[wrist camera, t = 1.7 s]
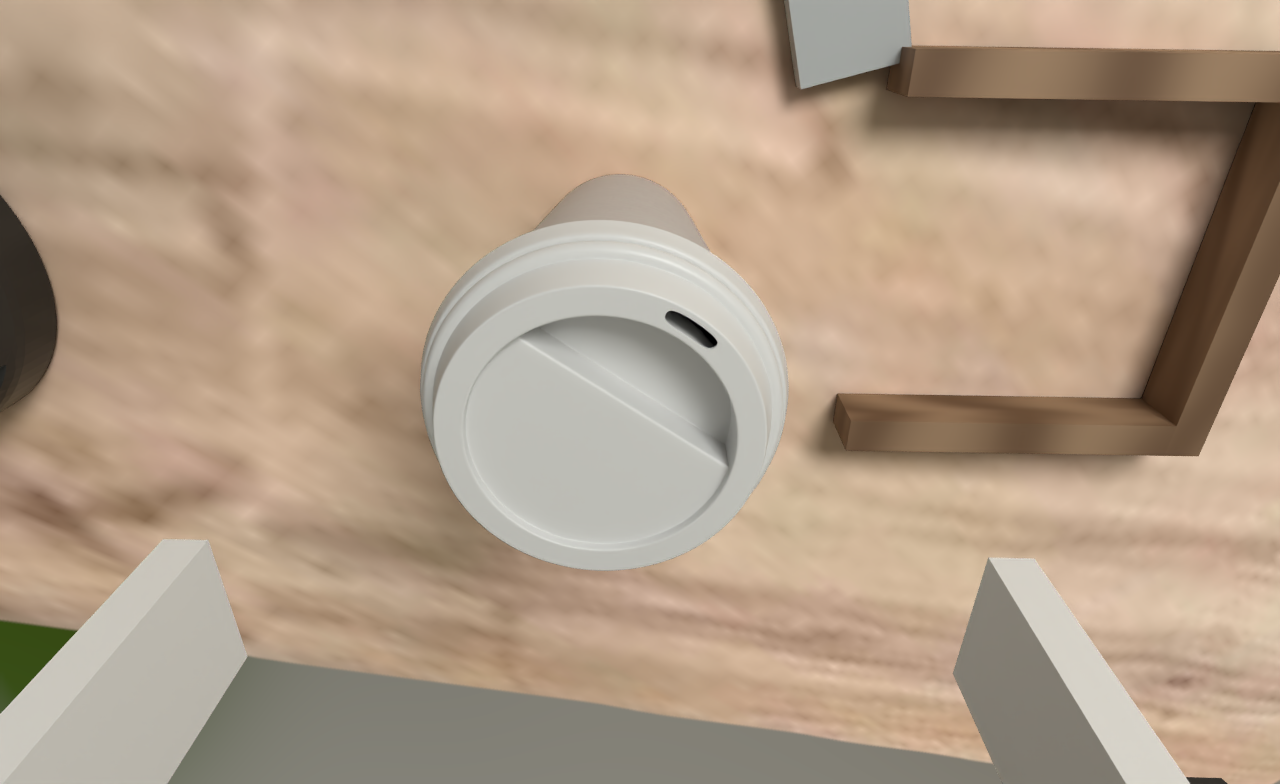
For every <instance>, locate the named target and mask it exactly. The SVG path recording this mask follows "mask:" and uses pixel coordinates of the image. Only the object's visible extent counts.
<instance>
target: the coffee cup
mask: <svg viewBox="0 0 1280 784" xmlns="http://www.w3.org/2000/svg"><path fill="white" fill-rule="evenodd" d="M420 393H421V405H422V412H423V417H424V422H425V426H426V429H427V433H428V436H429V439H430V442H431V445H432V448H433V450H434V453H435V455H436V457H437V459H438V461H439V463H440V466H441V469H442V471H443V474H444V476H445V478H446V480H447V482H448V484H449V486H450V488H451V489H452V491H453V492H454V494H455V496H456V497H457V499H458V500H459V501H460V503H461V504H462V505H463V506H464V508H465V509H466V510H467V511H468V512H469V513H470V515H471V516H472V517H473V518H474V519H475V520H476V521H477V522H478V523H480V524H481V525H482V526H483V527H484V528H485V529H487V530H488V531H489V532H490V533H492V534H493V535H494V536H496V537H497V538H499V539H500V540H502V541H503V542H505V543H506V544H508V545H510V546H511V547H513V548H515V549H517V550H519V551H521V552H523V553H525V554H528V555H530V556H532V557H535V558H537V559H540V560H543V561H546V562H549V563H553V564H557V565H561V566H565V567H570V568H576V569H584V570H597V571H613V570H626V569H634V568H640V567H645V566H650V565H654V564H657V563H661V562H664V561H667V560H670V559H672V558H675V557H677V556H680V555H682V554H684V553H686V552H688V551H690V550H692V549H694V548H696V547H697V546H699V545H701V544H702V543H704V542H705V541H707V540H708V539H710V538H711V537H712V536H714V535H715V534H716V533H718V532H719V531H720V530H721V529H722V528H723V527H724V526H726V525H727V524H728V523H729V522H730V521H731V519H732V518H733V517H734V516H735V515H736V514H737V513H738V512H739V510H740V509H741V508H742V506H743V505H744V503H745V502H746V500H747V499H748V497H749V496H750V494H751V493H752V492H753V490H754V489H755V488H756V486H757V485H758V484H759V482H760V480H761V479H762V477H763V476H764V474H765V472H766V470H767V468H768V466H769V465H770V463H771V461H772V459H773V457H774V454H775V452H776V450H777V447H778V444H779V441H780V438H781V435H782V431H783V427H784V422H785V416H786V411H787V403H788V371H787V364H786V358H785V353H784V350H783V346H782V343H781V339H780V337H779V334H778V331H777V329H776V327H775V324H774V322H773V320H772V318H771V317H770V315H769V313H768V311H767V309H766V308H765V306H764V305H763V303H762V302H761V300H760V299H759V297H758V296H757V295H756V293H755V292H754V291H753V290H752V288H751V287H750V286H749V285H748V284H747V283H746V282H745V280H744V279H743V278H742V277H741V276H740V275H739V274H738V273H736V272H735V271H734V270H733V269H732V268H731V267H730V266H729V265H727V264H726V263H725V262H724V261H722V260H721V259H720V258H718V257H717V256H715V255H714V254H712V253H711V252H710V250H709V248H708V247H707V245H706V243H705V241H704V240H703V238H702V236H701V234H700V233H699V231H698V229H697V228H696V226H695V224H694V222H693V221H692V219H691V217H690V215H689V214H688V212H687V210H686V209H685V208H684V206H683V205H682V204H681V202H680V201H679V200H678V199H677V198H676V197H675V196H674V195H673V194H672V193H670V192H669V191H668V190H667V189H665V188H664V187H662V186H660V185H659V184H657V183H655V182H653V181H651V180H648V179H645V178H642V177H638V176H633V175H625V174H615V175H606V176H601V177H598V178H595V179H592V180H589V181H587V182H585V183H583V184H581V185H580V186H578V187H576V188H575V189H574V190H572V191H571V192H570V193H569V194H567V195H566V196H565V197H564V198H563V199H562V200H561V201H560V202H559V204H558V205H557V206H556V207H555V208H554V209H553V210H552V211H551V212H550V213H549V214H548V215H547V216H546V217H545V219H544V220H543V221H542V222H541V223H540V224H539V225H538V226H537V227H536V228H535V229H534V230H533V231H532V232H529V233H526V234H524V235H521V236H519V237H517V238H515V239H513V240H511V241H509V242H507V243H505V244H503V245H501V246H500V247H498V248H496V249H495V250H493V251H492V252H490V253H489V254H487V255H486V256H484V257H483V258H482V259H480V260H479V261H478V262H477V263H476V264H474V265H473V266H472V267H471V268H470V269H469V270H468V271H467V272H466V273H465V274H464V275H463V276H462V277H461V278H460V279H459V280H458V281H457V282H456V284H455V285H454V286H453V287H452V289H451V290H450V291H449V293H448V294H447V296H446V297H445V299H444V300H443V302H442V303H441V305H440V307H439V309H438V311H437V313H436V314H435V317H434V319H433V321H432V323H431V326H430V329H429V331H428V334H427V338H426V341H425V345H424V350H423V356H422V363H421V379H420Z"/></svg>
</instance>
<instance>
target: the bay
mask: <svg viewBox="0 0 1280 784" xmlns="http://www.w3.org/2000/svg"><path fill="white" fill-rule="evenodd" d="M887 90H889V91H892V92H895V93H898V94H901V95H904V96H907V97H955V98H1020V99H1086V100H1152V101H1218V102H1256V104H1255V107H1254V109H1253V112H1252V114H1251V117H1250V120H1249V122H1248V125H1247V127H1246V130H1245V132H1244V135H1243V138H1242V140H1241V143H1240V145H1239V148H1238V151H1237V153H1236V156H1235V158H1234V161H1233V163H1232V166H1231V169H1230V171H1229V174H1228V176H1227V179H1226V182H1225V184H1224V187H1223V189H1222V192H1221V195H1220V197H1219V200H1218V202H1217V205H1216V207H1215V210H1214V213H1213V215H1212V218H1211V220H1210V223H1209V226H1208V228H1207V231H1206V233H1205V236H1204V239H1203V241H1202V244H1201V246H1200V249H1199V251H1198V254H1197V257H1196V259H1195V262H1194V264H1193V267H1192V270H1191V272H1190V275H1189V277H1188V280H1187V283H1186V285H1185V288H1184V290H1183V293H1182V295H1181V298H1180V301H1179V303H1178V306H1177V308H1176V311H1175V314H1174V316H1173V319H1172V321H1171V324H1170V326H1169V329H1168V332H1167V334H1166V337H1165V339H1164V342H1163V345H1162V347H1161V350H1160V352H1159V355H1158V358H1157V360H1156V363H1155V365H1154V368H1153V370H1152V373H1151V376H1150V378H1149V381H1148V383H1147V386H1146V389H1145V391H1144V394H1143V396H1142V399H1137V398H1075V397H1013V396H952V395H890V394H838V395H837V401H836V407H835V413H834V419H833V423H834V425H835V427H836V429H837V431H838V434H839V436H840V438H841V440H842V443H843V445H844V447H845V449H846V450H849V451H909V452H970V453H1031V454H1092V455H1153V456H1199V454H1200V452H1201V449H1202V447H1203V445H1204V443H1205V440H1206V438H1207V436H1208V434H1209V432H1210V429H1211V427H1212V425H1213V423H1214V420H1215V418H1216V416H1217V414H1218V411H1219V409H1220V407H1221V405H1222V403H1223V400H1224V398H1225V396H1226V394H1227V391H1228V389H1229V387H1230V385H1231V382H1232V380H1233V378H1234V376H1235V373H1236V371H1237V369H1238V367H1239V365H1240V362H1241V360H1242V358H1243V356H1244V353H1245V351H1246V349H1247V347H1248V344H1249V342H1250V340H1251V338H1252V336H1253V333H1254V331H1255V329H1256V327H1257V324H1258V322H1259V320H1260V318H1261V315H1262V313H1263V311H1264V309H1265V306H1266V304H1267V302H1268V300H1269V298H1270V295H1271V293H1272V291H1273V289H1274V286H1275V284H1276V282H1277V280H1278V277H1279V275H1280V51H1234V50H1167V49H1101V48H1034V47H968V46H912V47H902V50H901V56H900V62H899V63H898V64H895V65H891V66H890V71H889V77H888V84H887Z"/></svg>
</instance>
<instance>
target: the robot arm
mask: <svg viewBox="0 0 1280 784" xmlns="http://www.w3.org/2000/svg"><path fill="white" fill-rule="evenodd" d="M55 337H56V313H55V304H54V299H53V294H52V290H51V286H50V283H49V280H48V277H47V274H46V271H45V268H44V266H43V263H42V261H41V259H40V256H39V254H38V252H37V250H36V248H35V246H34V244H33V242H32V241H31V239H30V237H29V236H28V234H27V232H26V230H25V229H24V227H23V226H22V224H21V223H20V221H19V220H18V218H17V217H16V215H15V214H14V212H13V211H12V210H11V208H10V207H9V206H8V204H7V203H6V202H5V201H4V199H3V198H2V197H1V196H0V412H1V411H3V410H4V409H6V408H7V407H9V406H11V405H12V404H14V403H15V402H17V401H18V400H20V399H21V398H23V397H24V396H25V395H26V394H27V393H29V392H30V391H31V390H32V389H33V388H34V386H35V385H36V384H37V383H38V382H39V380H40V379H41V377H42V376H43V374H44V372H45V371H46V369H47V367H48V364H49V362H50V359H51V356H52V353H53V349H54V344H55ZM246 658H247V654H246V651H245V648H244V645H243V642H242V639H241V636H240V633H239V630H238V627H237V624H236V621H235V618H234V615H233V612H232V609H231V606H230V603H229V600H228V597H227V594H226V591H225V588H224V585H223V582H222V579H221V576H220V573H219V571H218V568H217V565H216V562H215V559H214V556H213V553H212V550H211V547H210V544H209V541H208V540H181V539H163V540H162V541H161V542H160V543H159V544H158V545H157V546H156V547H155V549H154V550H153V551H152V552H151V553H150V554H149V555H148V556H147V557H146V558H145V559H144V560H143V561H142V562H141V564H140V565H139V566H138V567H137V568H136V569H135V570H134V571H133V572H132V573H131V574H130V575H129V576H128V578H127V579H126V580H125V581H124V582H123V583H122V584H121V585H120V586H119V587H118V588H117V589H116V590H115V592H114V593H113V594H112V595H111V596H110V597H109V598H108V599H107V600H106V601H105V602H104V603H103V604H102V605H101V607H100V608H99V609H98V610H97V611H96V612H95V613H94V614H93V615H92V616H91V617H90V618H89V619H88V621H87V622H86V623H85V624H84V625H83V626H82V627H81V628H80V629H79V630H78V631H77V632H76V634H75V635H74V636H73V637H72V638H71V639H70V640H69V641H68V642H67V643H66V644H65V645H64V646H63V648H61V650H60V651H59V652H58V653H57V654H56V655H55V656H54V657H53V658H52V659H51V660H50V662H48V664H47V665H46V666H45V667H44V668H43V669H42V670H41V671H40V672H39V673H38V674H37V676H35V678H34V679H33V680H32V681H31V682H30V683H29V684H28V685H27V686H26V687H25V688H24V689H23V690H22V692H21V693H20V694H19V695H18V696H17V697H16V698H15V699H14V700H13V701H12V702H11V704H9V705H8V707H7V708H6V709H5V710H4V711H3V712H2V713H1V714H0V784H167V783H168V782H169V780H170V778H171V777H172V775H173V774H174V772H175V771H176V769H177V767H178V766H179V764H180V762H181V761H182V759H183V758H184V756H185V754H186V753H187V751H188V750H189V748H190V747H191V745H192V744H193V742H194V740H195V739H196V737H197V735H198V734H199V733H200V731H201V729H202V728H203V726H204V725H205V723H206V721H207V719H208V718H209V717H210V715H211V713H212V712H213V710H214V709H215V707H216V706H217V703H218V702H219V701H220V699H221V697H222V696H223V694H224V693H225V691H226V690H227V688H228V686H229V685H230V683H231V682H232V680H233V679H234V677H235V675H236V674H237V672H238V671H239V669H240V668H241V666H242V664H243V663H244V661H245V660H246ZM953 675H954V677H955V679H956V681H957V684H958V686H959V688H960V690H961V693H962V695H963V697H964V699H965V702H966V704H967V706H968V708H969V710H970V713H971V715H972V717H973V719H974V722H975V724H976V726H977V728H978V730H979V733H980V735H981V737H982V739H983V742H984V744H985V746H986V748H987V751H988V753H989V755H990V757H991V759H992V762H993V764H994V766H995V768H996V770H997V773H998V775H999V777H1000V779H1001V782H1002V784H1227V783H1226V782H1225V781H1224V780H1223V779H1222V778H1194V777H1185V776H1184V774H1183V773H1182V771H1181V770H1180V768H1179V767H1178V765H1177V764H1176V763H1175V761H1174V760H1173V758H1172V757H1171V755H1170V754H1169V752H1168V751H1167V750H1166V748H1165V747H1164V745H1163V744H1162V742H1161V741H1160V739H1159V738H1158V736H1157V735H1156V734H1155V732H1154V731H1153V729H1152V728H1151V726H1150V725H1149V723H1148V722H1147V721H1146V719H1145V718H1144V716H1143V715H1142V713H1141V712H1140V710H1139V709H1138V708H1137V706H1136V705H1135V703H1134V702H1133V700H1132V699H1131V697H1130V696H1129V695H1128V693H1127V692H1126V690H1125V689H1124V687H1123V686H1122V684H1121V683H1120V682H1119V680H1118V679H1117V677H1116V676H1115V674H1114V673H1113V671H1112V670H1111V669H1110V667H1109V666H1108V664H1107V663H1106V661H1105V660H1104V658H1103V657H1102V656H1101V654H1100V653H1099V651H1098V650H1097V648H1096V647H1095V645H1094V644H1093V643H1092V641H1091V640H1090V638H1089V637H1088V635H1087V634H1086V632H1085V631H1084V630H1083V628H1082V627H1081V625H1080V624H1079V622H1078V621H1077V619H1076V618H1075V617H1074V615H1073V614H1072V612H1071V611H1070V609H1069V608H1068V606H1067V605H1066V604H1065V602H1064V601H1063V599H1062V598H1061V596H1060V595H1059V593H1058V592H1057V591H1056V589H1055V588H1054V586H1053V585H1052V583H1051V582H1050V580H1049V579H1048V578H1047V576H1046V575H1045V573H1044V572H1043V570H1042V569H1041V567H1040V566H1039V565H1038V563H1037V562H1036V560H1035V559H1029V558H988V560H987V564H986V567H985V570H984V573H983V577H982V580H981V583H980V587H979V590H978V593H977V596H976V600H975V603H974V606H973V609H972V613H971V616H970V619H969V622H968V626H967V629H966V632H965V636H964V639H963V642H962V645H961V649H960V652H959V655H958V658H957V662H956V665H955V668H954V671H953Z"/></svg>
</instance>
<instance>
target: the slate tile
mask: <svg viewBox="0 0 1280 784" xmlns="http://www.w3.org/2000/svg"><path fill="white" fill-rule="evenodd" d="M784 5H785V12H786V19H787V26H788V33H789V40H790V47H791V55H792V62H793V69H794V76H795V83H796V87H798V88H799V89H804V88H808V87H812V86H815V85H819V84H823V83H827V82H831V81H834V80H838V79H842V78H846V77H849V76H853V75H857V74H861V73H864V72H868V71H872V70H876V69H880V68H883V67H887V66H891V65H895V64H898V63H899V62H900V56H901V50H902V47H912V45H911V31H910V16H909V2H908V0H784Z"/></svg>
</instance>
